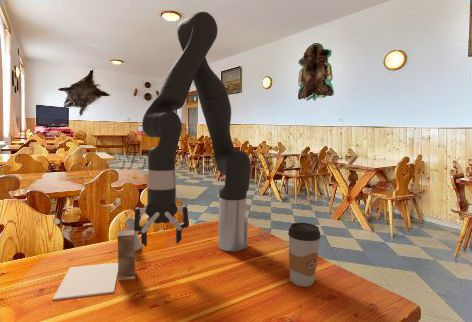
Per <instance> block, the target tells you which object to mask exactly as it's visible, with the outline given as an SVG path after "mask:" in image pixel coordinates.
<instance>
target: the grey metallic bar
mask: <svg viewBox="0 0 472 322" xmlns="http://www.w3.org/2000/svg"><path fill="white" fill-rule="evenodd" d="M117 263H118V275H117V278H118V281H125V280H134V279H135V278H136V277H135V276H136V251H135V231H134V230H118V234H117Z"/></svg>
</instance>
